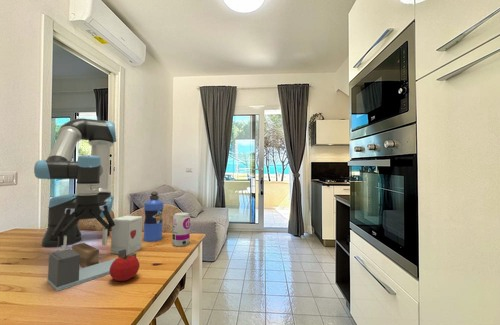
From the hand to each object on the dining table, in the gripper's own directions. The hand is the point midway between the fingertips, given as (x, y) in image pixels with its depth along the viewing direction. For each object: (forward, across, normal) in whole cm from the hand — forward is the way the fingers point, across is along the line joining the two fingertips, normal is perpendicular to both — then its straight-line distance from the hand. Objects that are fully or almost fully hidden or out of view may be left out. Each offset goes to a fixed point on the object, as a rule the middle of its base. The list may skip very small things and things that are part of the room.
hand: (85, 249), depth 88 cm
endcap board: (+5, -1, -12) cm, 14 cm away
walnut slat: (+5, 0, 0) cm, 5 cm away
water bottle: (+5, +33, +8) cm, 34 cm away
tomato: (+6, +3, -25) cm, 26 cm away
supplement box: (+5, +16, 0) cm, 17 cm away
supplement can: (+5, +37, -10) cm, 39 cm away
